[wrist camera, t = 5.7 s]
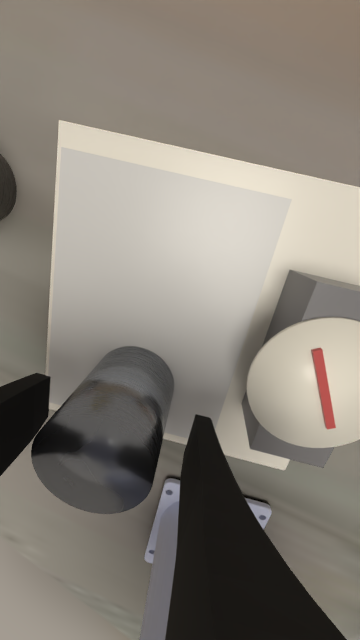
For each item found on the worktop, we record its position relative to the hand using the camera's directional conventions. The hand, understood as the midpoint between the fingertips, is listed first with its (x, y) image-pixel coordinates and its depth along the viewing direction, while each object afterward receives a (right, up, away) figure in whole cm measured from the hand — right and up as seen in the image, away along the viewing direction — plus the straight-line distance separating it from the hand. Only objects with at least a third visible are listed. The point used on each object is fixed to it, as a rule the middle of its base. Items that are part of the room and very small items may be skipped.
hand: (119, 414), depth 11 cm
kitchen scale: (+3, +5, +4) cm, 7 cm away
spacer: (0, +1, +2) cm, 2 cm away
